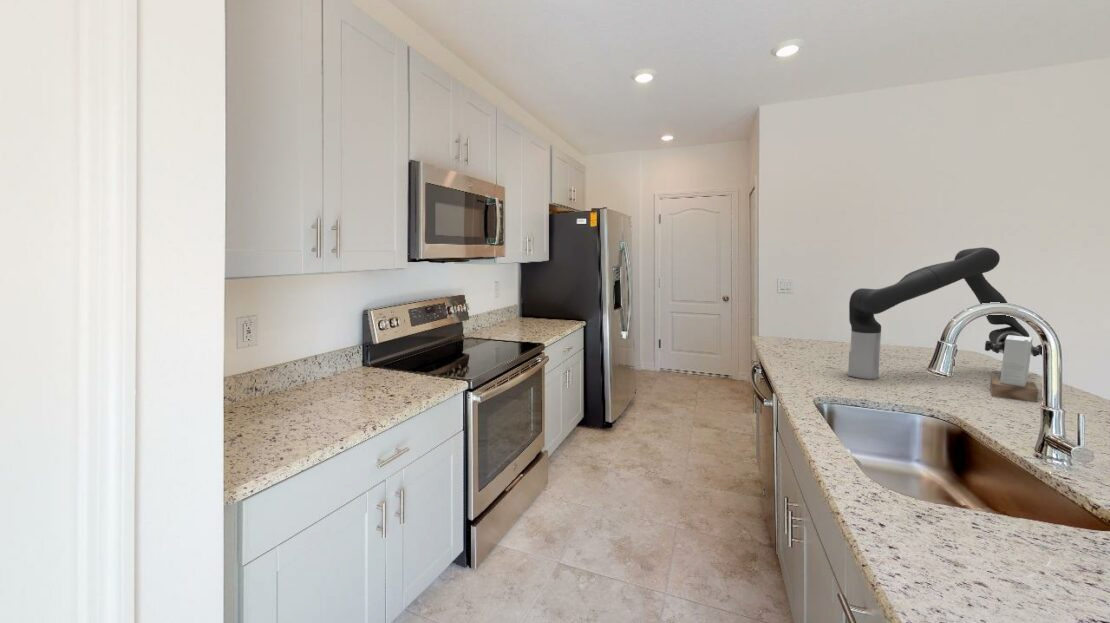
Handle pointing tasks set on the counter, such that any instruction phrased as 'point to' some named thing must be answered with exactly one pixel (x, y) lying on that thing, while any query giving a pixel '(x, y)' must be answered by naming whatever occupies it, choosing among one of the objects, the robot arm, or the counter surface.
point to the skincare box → (1016, 360)
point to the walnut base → (1014, 390)
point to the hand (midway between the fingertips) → (1016, 351)
